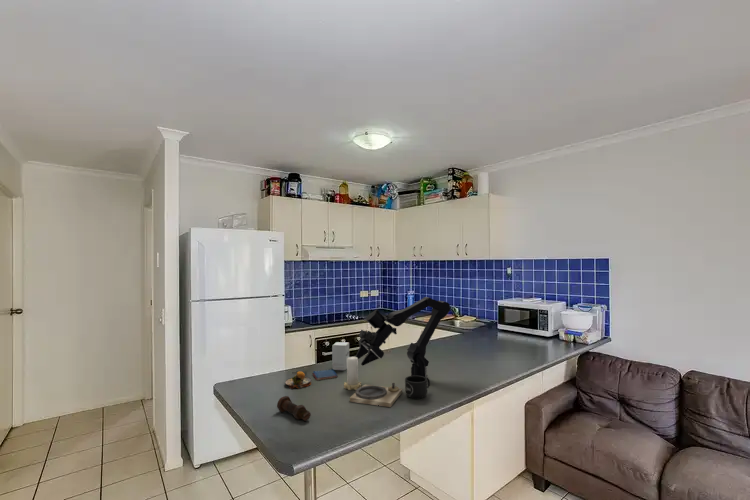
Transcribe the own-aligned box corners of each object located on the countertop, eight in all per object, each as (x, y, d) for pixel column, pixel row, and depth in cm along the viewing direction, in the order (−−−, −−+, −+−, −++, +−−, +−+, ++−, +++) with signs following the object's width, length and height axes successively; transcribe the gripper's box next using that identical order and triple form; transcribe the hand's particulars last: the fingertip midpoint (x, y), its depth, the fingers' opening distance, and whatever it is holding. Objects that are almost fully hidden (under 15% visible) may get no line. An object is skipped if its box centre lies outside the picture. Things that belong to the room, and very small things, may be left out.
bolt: (305, 428, 125) (281, 414, 135) (315, 416, 128) (291, 403, 139) (298, 416, 123) (274, 402, 133) (309, 404, 126) (284, 392, 136)
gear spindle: (364, 384, 162) (363, 356, 162) (357, 390, 154) (357, 361, 155) (348, 383, 164) (348, 355, 165) (340, 388, 157) (340, 359, 157)
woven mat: (311, 375, 178) (311, 370, 178) (332, 372, 182) (332, 368, 182) (315, 381, 168) (315, 377, 168) (338, 378, 172) (338, 374, 172)
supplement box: (345, 370, 183) (345, 345, 183) (331, 369, 184) (331, 345, 185) (349, 366, 190) (349, 342, 190) (336, 365, 192) (336, 341, 192)
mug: (415, 402, 141) (415, 384, 141) (400, 395, 149) (400, 378, 149) (437, 395, 148) (437, 377, 148) (422, 389, 156) (421, 372, 156)
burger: (297, 378, 172) (297, 363, 172) (316, 382, 166) (316, 366, 166) (279, 386, 162) (278, 369, 162) (298, 391, 156) (298, 373, 156)
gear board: (402, 392, 152) (401, 382, 152) (390, 407, 137) (390, 395, 137) (364, 387, 158) (364, 377, 158) (349, 401, 143) (349, 390, 143)
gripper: (362, 320, 172) (340, 345, 167) (377, 327, 154) (352, 355, 150) (378, 335, 174) (356, 361, 170) (394, 344, 157) (370, 372, 153)
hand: (358, 362), depth 161 cm, fingers open, 9 cm apart
